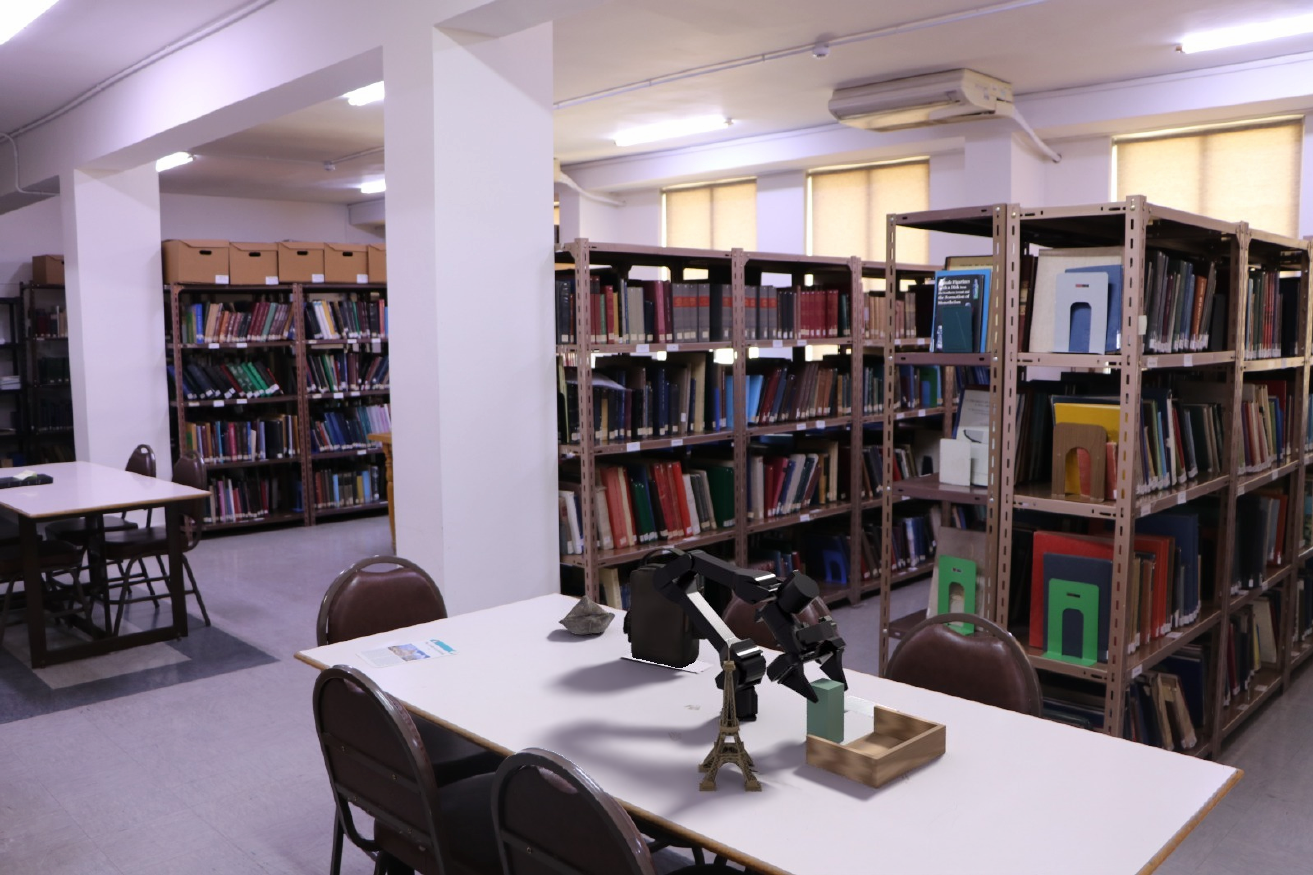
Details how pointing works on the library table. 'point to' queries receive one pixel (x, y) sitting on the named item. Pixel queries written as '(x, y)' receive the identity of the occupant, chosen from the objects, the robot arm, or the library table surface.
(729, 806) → the library table surface
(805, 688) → the robot arm
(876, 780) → the oak crate
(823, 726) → the green block
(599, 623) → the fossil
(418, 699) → the library table surface
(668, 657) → the shoulder bag
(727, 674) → the eiffel tower
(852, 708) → the white flat slab
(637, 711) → the library table surface
